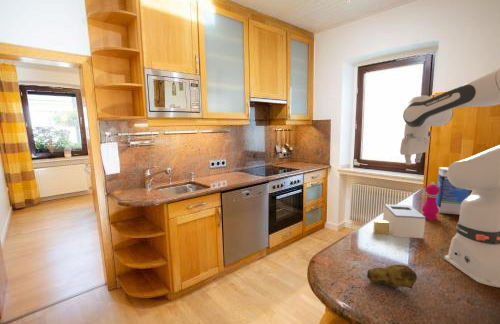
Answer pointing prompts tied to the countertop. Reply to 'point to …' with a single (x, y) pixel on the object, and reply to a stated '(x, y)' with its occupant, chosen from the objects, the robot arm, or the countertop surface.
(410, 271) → the potato
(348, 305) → the countertop surface
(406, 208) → the coin box
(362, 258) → the countertop surface
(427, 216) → the pepper mill
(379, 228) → the block
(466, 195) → the string lights box
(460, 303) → the countertop surface
